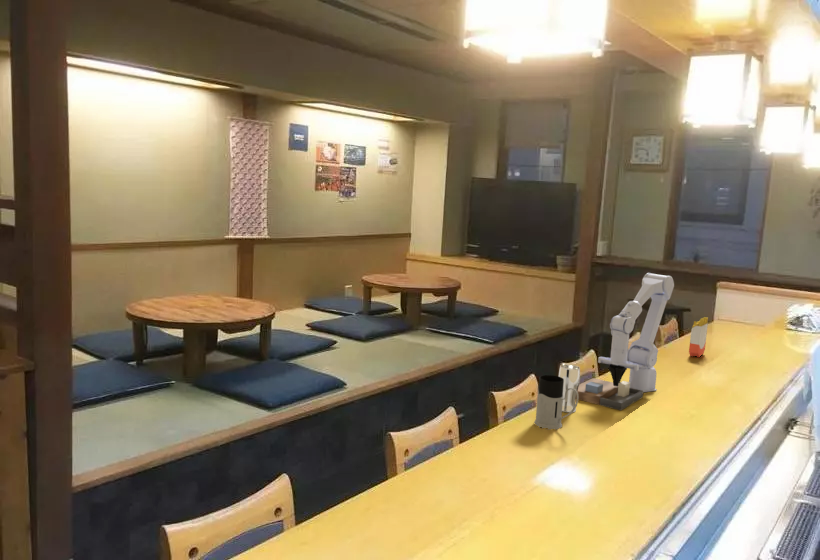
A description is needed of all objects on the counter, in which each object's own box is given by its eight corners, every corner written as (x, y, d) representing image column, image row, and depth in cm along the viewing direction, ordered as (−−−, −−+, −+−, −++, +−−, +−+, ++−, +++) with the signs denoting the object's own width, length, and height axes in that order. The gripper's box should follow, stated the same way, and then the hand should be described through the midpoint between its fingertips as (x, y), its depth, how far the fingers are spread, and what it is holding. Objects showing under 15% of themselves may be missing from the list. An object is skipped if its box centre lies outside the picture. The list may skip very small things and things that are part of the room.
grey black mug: (544, 417, 222) (547, 372, 220) (582, 430, 212) (586, 383, 210) (528, 423, 216) (531, 377, 214) (567, 436, 206) (571, 388, 204)
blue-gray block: (585, 390, 243) (585, 384, 243) (590, 388, 247) (591, 381, 246) (597, 393, 240) (597, 386, 240) (602, 391, 244) (603, 384, 244)
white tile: (618, 383, 246) (625, 384, 244) (623, 380, 249) (630, 382, 247) (617, 395, 246) (624, 397, 245) (622, 392, 250) (628, 394, 248)
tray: (599, 404, 238) (600, 398, 237) (622, 392, 253) (622, 386, 253) (621, 410, 233) (621, 403, 233) (642, 397, 248) (643, 390, 248)
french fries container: (687, 356, 312) (691, 318, 310) (694, 352, 321) (698, 314, 318) (697, 358, 310) (702, 319, 307) (704, 354, 318) (708, 316, 316)
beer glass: (577, 414, 227) (581, 370, 225) (556, 412, 228) (559, 368, 226) (576, 407, 234) (580, 365, 232) (555, 405, 235) (559, 363, 233)
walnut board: (568, 397, 245) (569, 389, 245) (592, 385, 260) (593, 377, 260) (599, 404, 238) (599, 396, 237) (621, 392, 253) (622, 384, 253)
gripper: (595, 347, 248) (592, 383, 250) (635, 354, 239) (631, 392, 241) (603, 343, 253) (600, 379, 255) (642, 351, 244) (639, 388, 246)
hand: (616, 385), depth 249 cm, fingers closed
